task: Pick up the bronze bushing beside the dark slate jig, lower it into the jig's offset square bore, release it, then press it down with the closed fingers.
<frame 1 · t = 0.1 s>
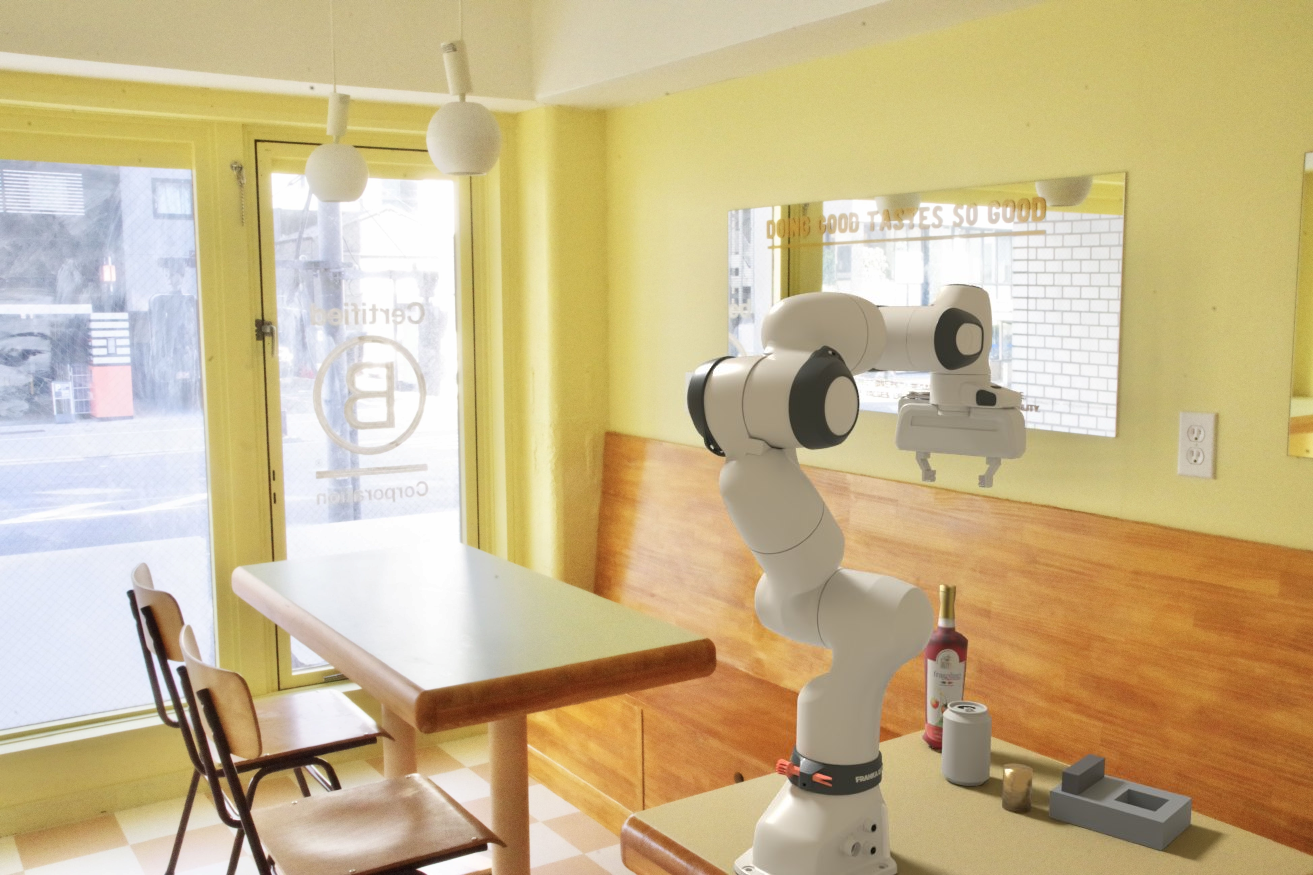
hand: (956, 484, 173), 48 cm above the table, fingers open, 8 cm apart
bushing: (1016, 807, 170), on the table
can: (965, 779, 181), on the table
jig: (1119, 820, 166), on the table
liquor: (942, 746, 196), on the table
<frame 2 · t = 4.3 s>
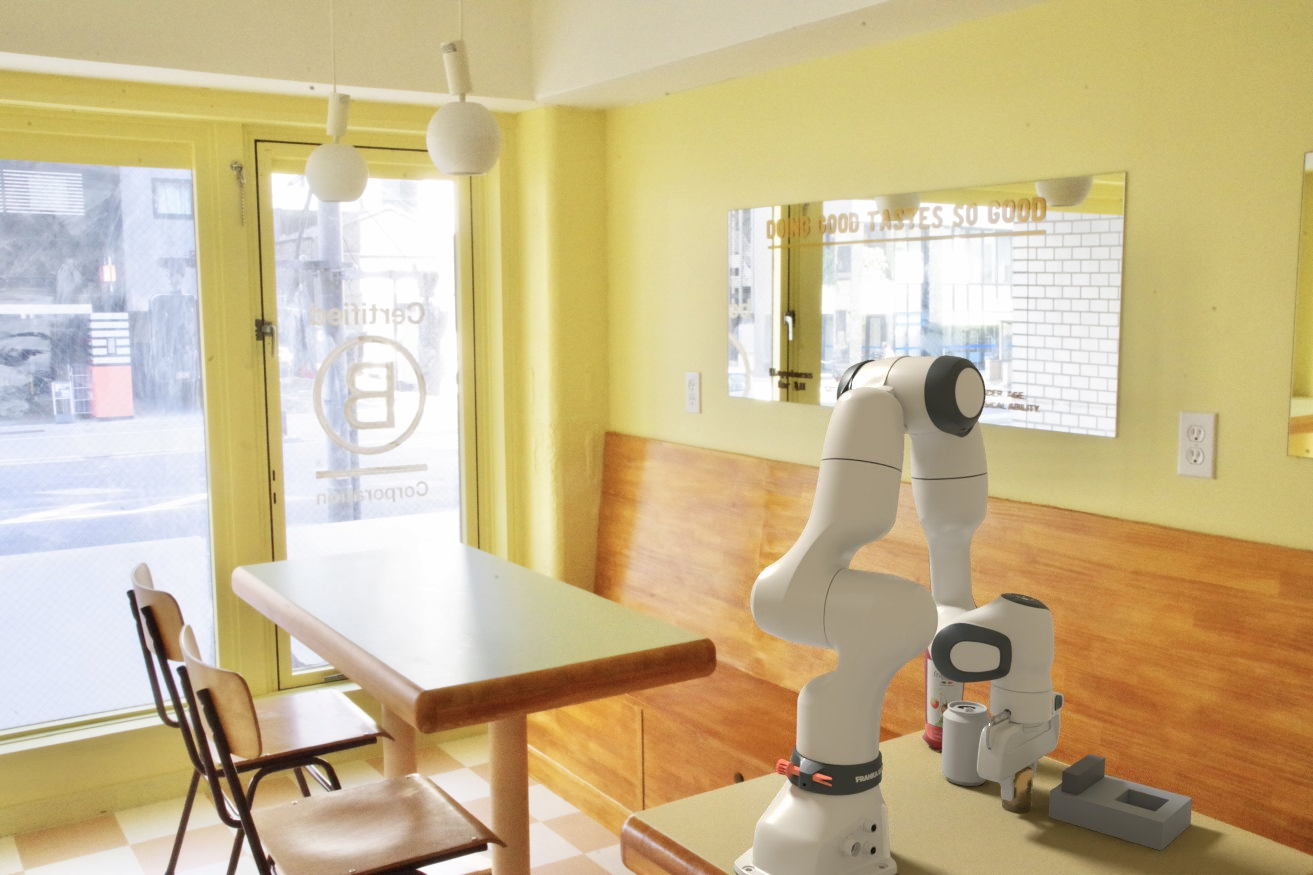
hand: (1016, 793, 170), 2 cm above the table, fingers closed on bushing, 4 cm apart
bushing: (1016, 807, 170), on the table, touching gripper
everything else where it was.
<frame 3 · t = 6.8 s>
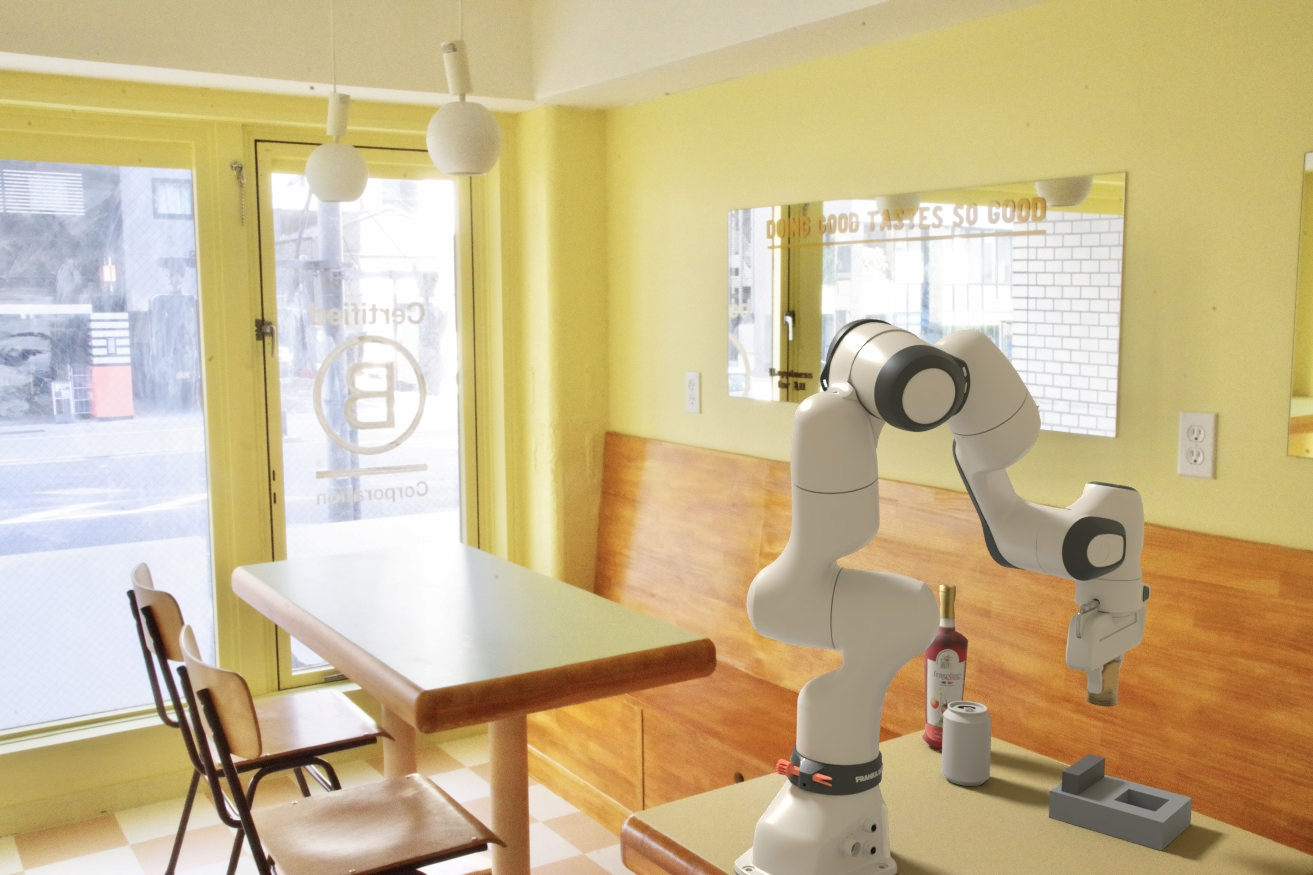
hand: (1103, 687, 164), 20 cm above the table, fingers closed on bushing, 4 cm apart
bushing: (1101, 701, 165), point 18 cm above the table, touching gripper
everything else where it was.
when the fingers open (5 cm above the table, at t = 9.8 s): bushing drops 3 cm, resting in jig.
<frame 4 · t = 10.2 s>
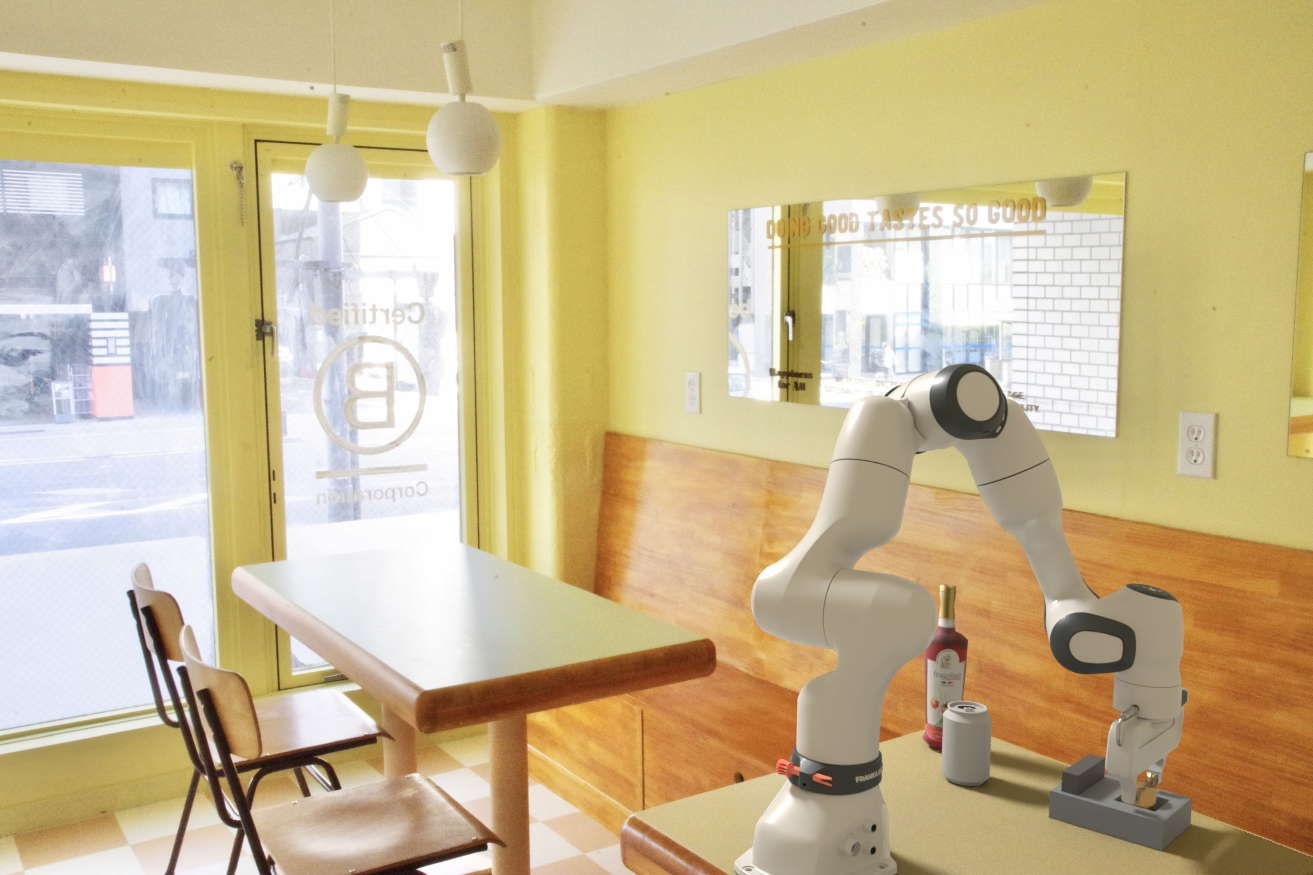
hand: (1141, 792, 163), 5 cm above the table, fingers open, 8 cm apart
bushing: (1138, 826, 164), resting in jig
everything else where it was.
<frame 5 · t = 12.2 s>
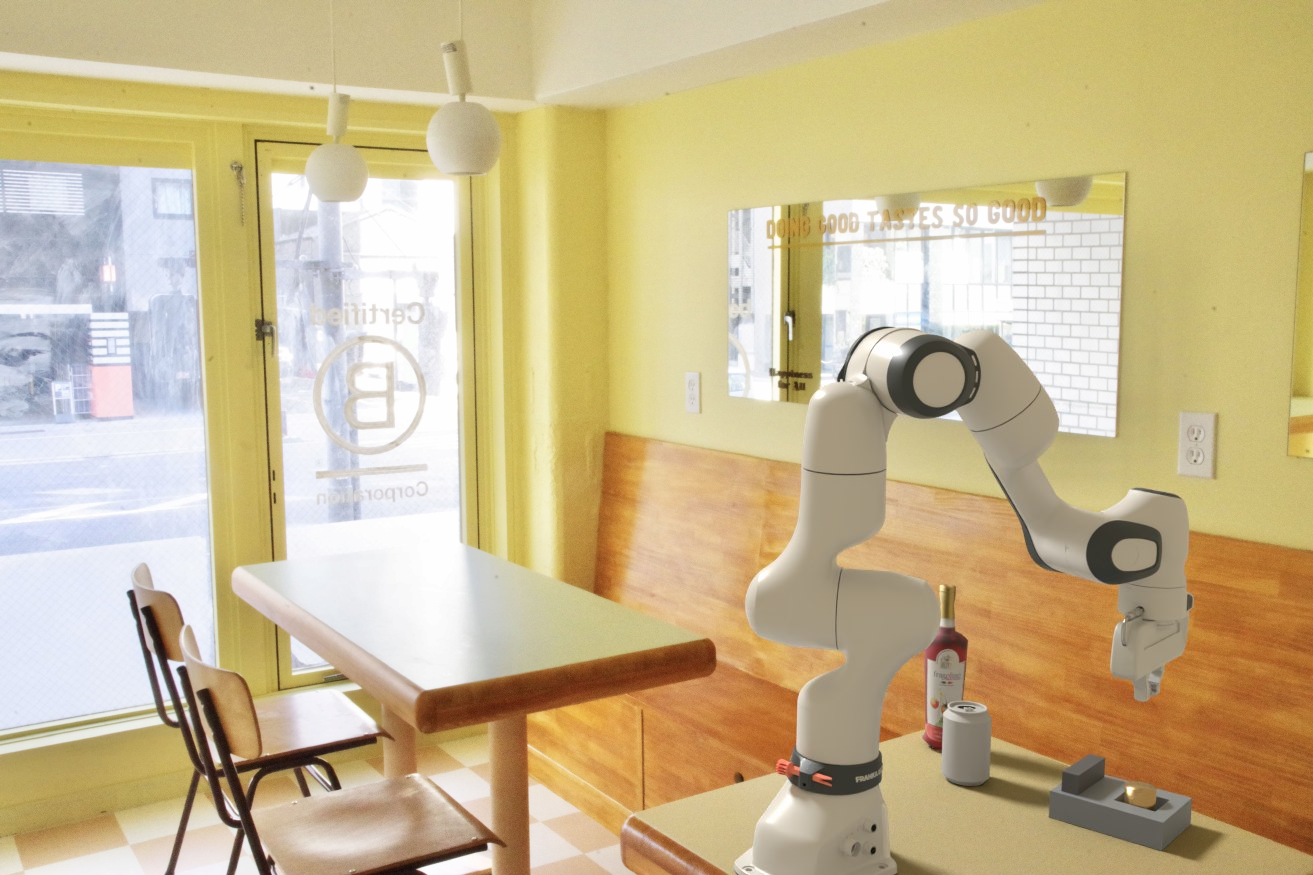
hand: (1146, 697, 162), 19 cm above the table, fingers closed
nothing on the table moved.
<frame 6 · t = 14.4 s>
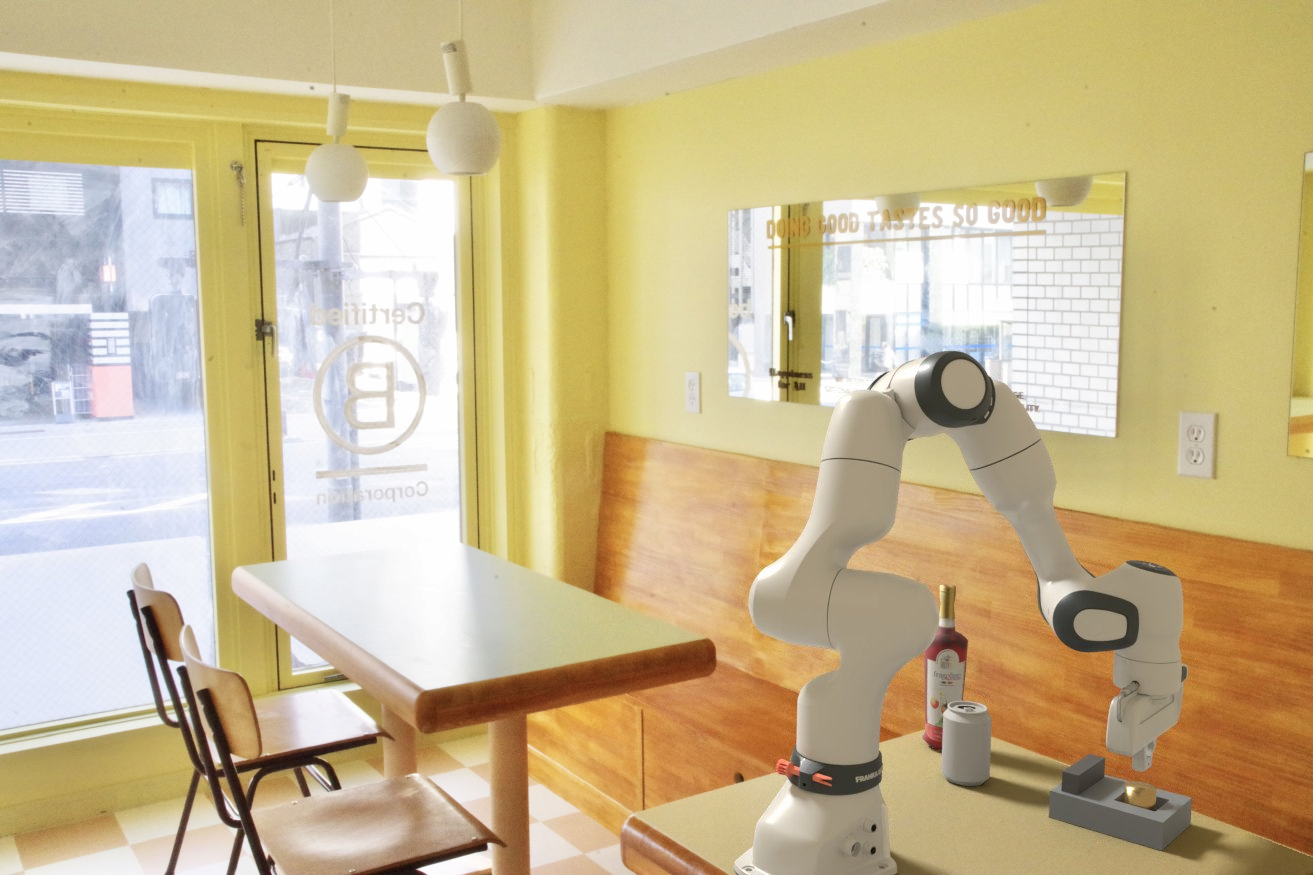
hand: (1141, 768, 164), 8 cm above the table, fingers closed
nothing on the table moved.
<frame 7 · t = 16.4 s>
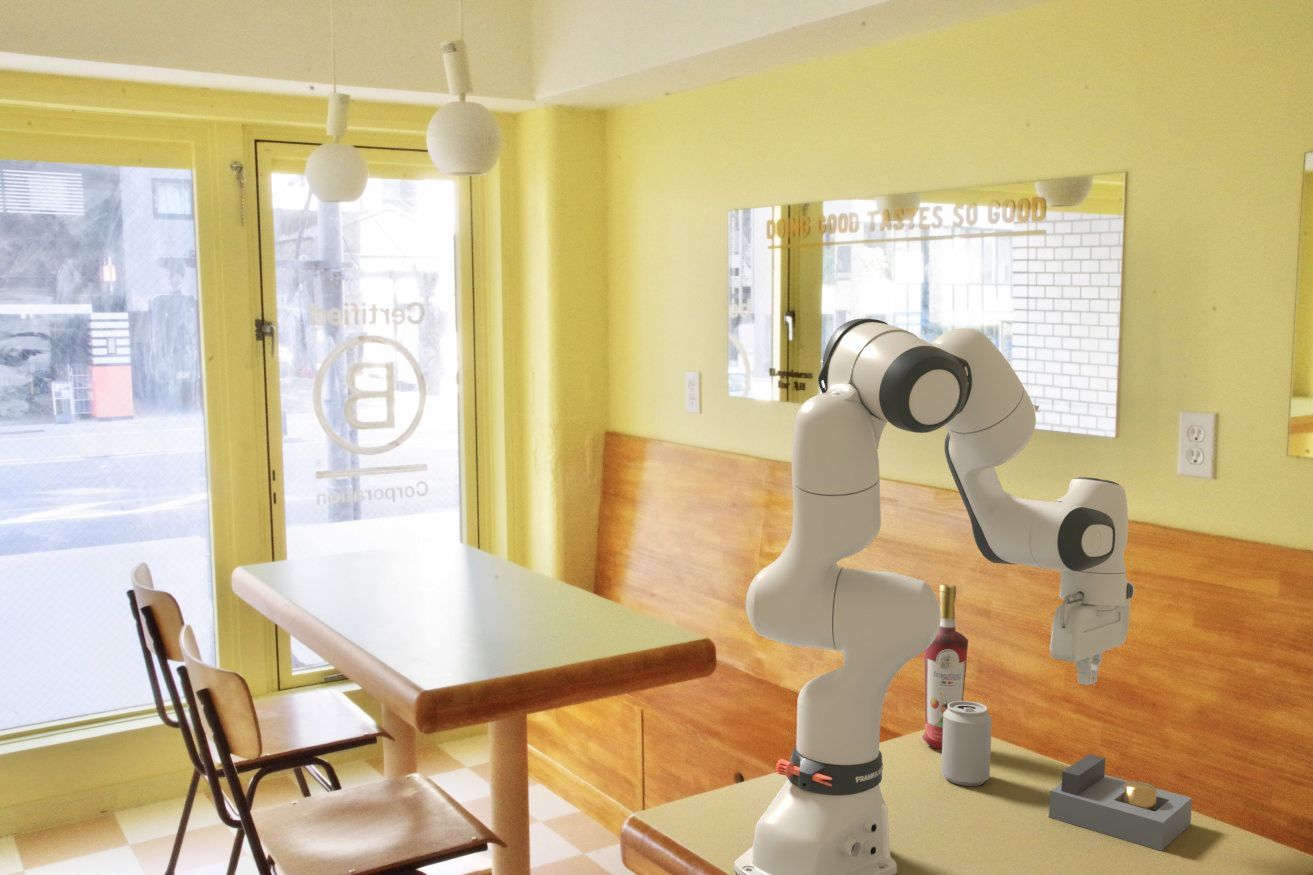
hand: (1087, 683, 166), 20 cm above the table, fingers closed
nothing on the table moved.
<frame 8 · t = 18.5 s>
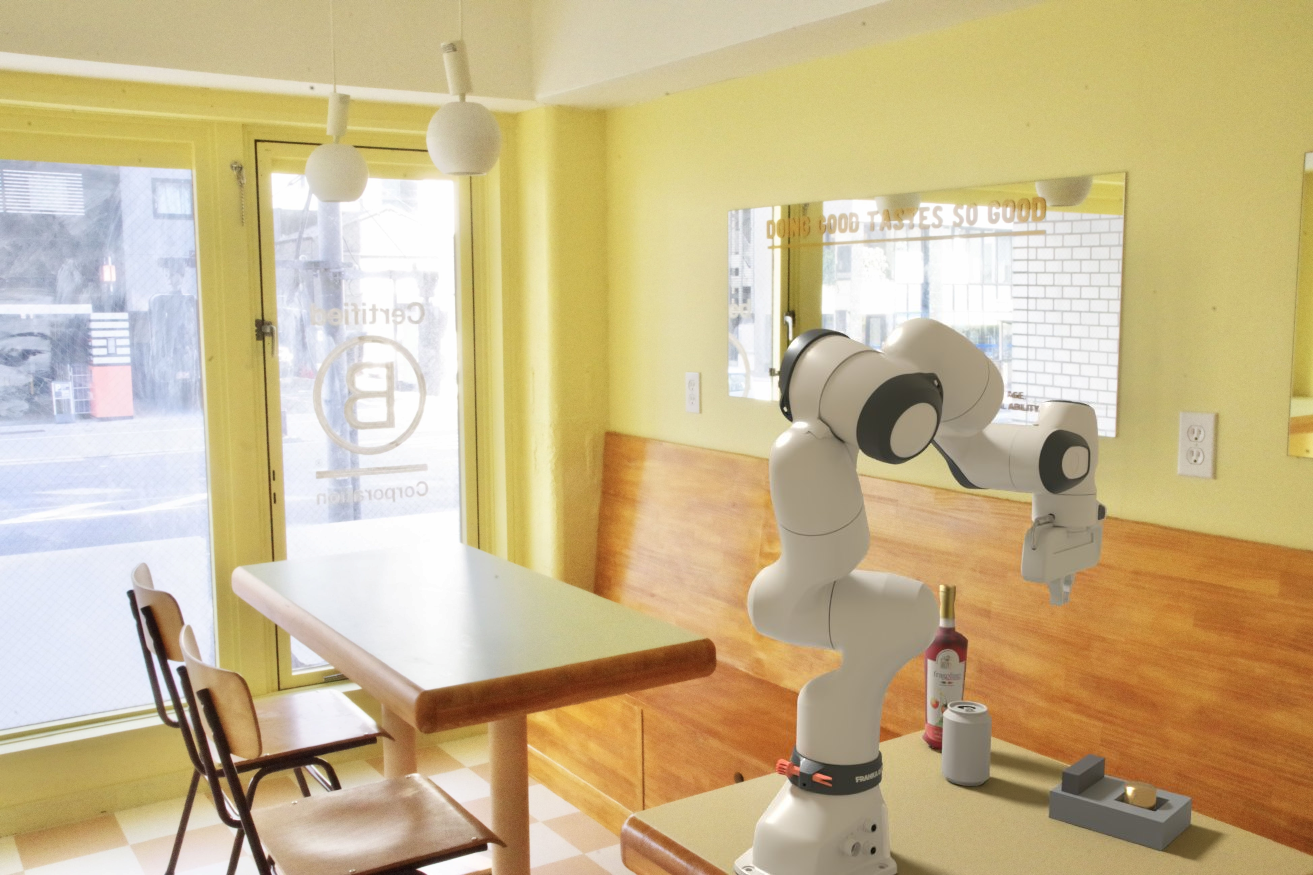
hand: (1059, 604, 167), 31 cm above the table, fingers closed
nothing on the table moved.
at the end: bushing 0.2 cm from the target spot on the jig, point 0.0 cm above the jig's base; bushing tilted 0°; the gripper is holding nothing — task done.
